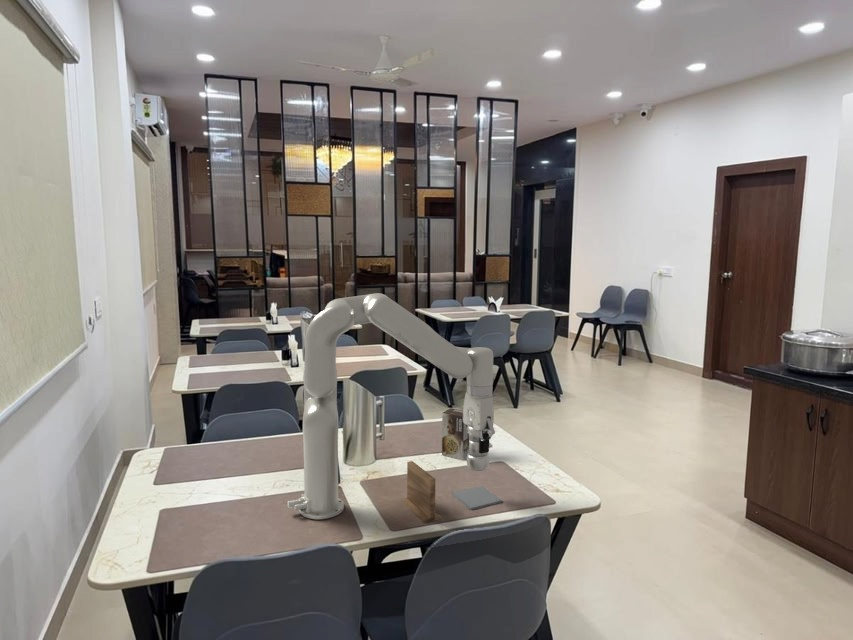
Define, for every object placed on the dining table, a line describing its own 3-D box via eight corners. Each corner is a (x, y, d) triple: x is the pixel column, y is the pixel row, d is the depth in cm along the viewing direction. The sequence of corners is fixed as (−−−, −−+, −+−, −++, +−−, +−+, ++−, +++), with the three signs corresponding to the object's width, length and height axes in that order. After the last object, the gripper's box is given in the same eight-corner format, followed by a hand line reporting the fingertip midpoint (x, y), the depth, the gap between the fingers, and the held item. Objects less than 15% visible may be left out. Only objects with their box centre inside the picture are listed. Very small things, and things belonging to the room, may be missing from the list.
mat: (470, 509, 161) (470, 507, 161) (451, 494, 170) (451, 492, 170) (502, 502, 166) (502, 500, 166) (481, 487, 176) (481, 485, 176)
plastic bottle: (487, 474, 163) (489, 408, 160) (464, 472, 165) (466, 406, 162) (489, 466, 169) (491, 402, 167) (467, 464, 171) (469, 400, 168)
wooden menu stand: (424, 522, 153) (424, 481, 151) (401, 501, 165) (402, 462, 164) (440, 518, 155) (440, 477, 154) (416, 498, 168) (417, 460, 166)
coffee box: (471, 455, 202) (472, 411, 200) (463, 460, 197) (464, 416, 195) (449, 449, 207) (450, 407, 205) (440, 455, 202) (441, 411, 200)
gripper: (453, 384, 169) (452, 442, 172) (485, 398, 154) (483, 461, 157) (474, 381, 173) (472, 438, 175) (507, 395, 158) (505, 456, 160)
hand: (478, 448), depth 166 cm, fingers closed on plastic bottle, 5 cm apart
